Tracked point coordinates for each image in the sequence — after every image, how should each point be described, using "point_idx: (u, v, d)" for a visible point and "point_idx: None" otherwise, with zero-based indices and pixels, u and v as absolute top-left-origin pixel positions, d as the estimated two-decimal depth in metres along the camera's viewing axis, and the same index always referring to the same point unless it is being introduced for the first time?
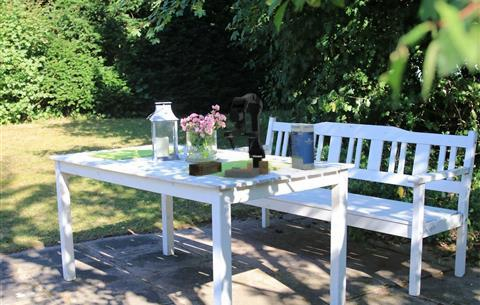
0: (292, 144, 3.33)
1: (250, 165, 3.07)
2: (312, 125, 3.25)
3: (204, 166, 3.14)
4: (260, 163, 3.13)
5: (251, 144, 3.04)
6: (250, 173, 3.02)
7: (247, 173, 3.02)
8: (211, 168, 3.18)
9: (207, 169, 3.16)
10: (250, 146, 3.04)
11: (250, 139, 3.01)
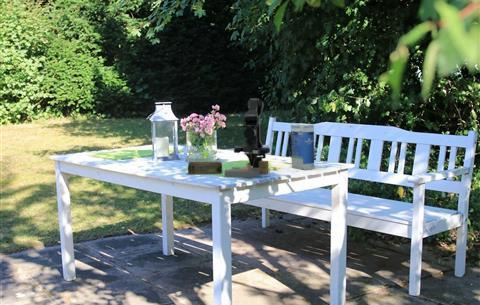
0: (292, 144, 3.33)
1: (249, 165, 3.07)
2: (312, 125, 3.25)
3: (197, 166, 3.17)
4: (260, 163, 3.13)
5: (254, 160, 3.07)
6: (250, 173, 3.02)
7: (247, 173, 3.02)
8: (206, 168, 3.17)
9: (201, 169, 3.17)
10: (253, 162, 3.07)
11: (253, 155, 3.04)
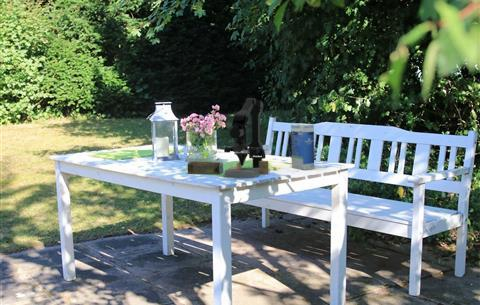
0: (292, 144, 3.33)
1: (239, 165, 3.10)
2: (312, 125, 3.25)
3: (195, 165, 3.19)
4: (260, 163, 3.13)
5: (244, 159, 3.09)
6: (250, 173, 3.02)
7: (247, 173, 3.02)
8: (204, 168, 3.17)
9: (199, 169, 3.18)
10: (243, 161, 3.09)
11: (243, 155, 3.06)
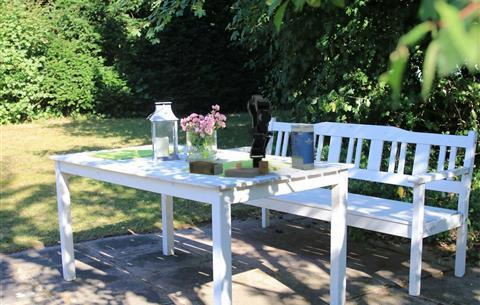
0: (292, 144, 3.33)
1: (239, 165, 3.10)
2: (312, 125, 3.25)
3: (195, 164, 3.21)
4: (260, 163, 3.13)
5: (261, 145, 3.10)
6: (250, 173, 3.02)
7: (247, 173, 3.02)
8: (201, 168, 3.18)
9: (198, 168, 3.20)
10: (260, 147, 3.11)
11: None
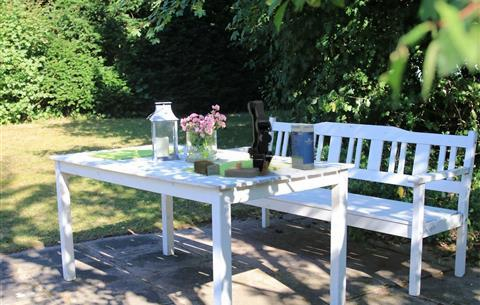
0: (292, 144, 3.33)
1: (239, 165, 3.10)
2: (312, 125, 3.25)
3: (197, 164, 3.24)
4: None
5: (260, 166, 3.09)
6: (250, 173, 3.02)
7: (247, 173, 3.02)
8: (200, 168, 3.20)
9: (198, 168, 3.22)
10: (259, 168, 3.10)
11: None
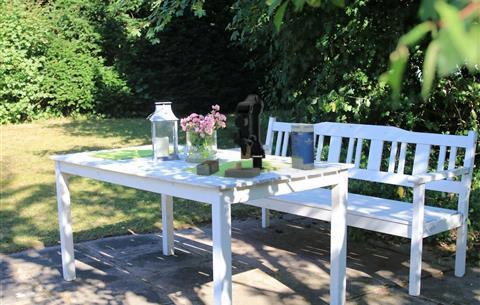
0: (292, 144, 3.33)
1: (239, 165, 3.10)
2: (312, 125, 3.25)
3: None
4: None
5: (243, 150, 3.05)
6: (250, 173, 3.02)
7: (247, 173, 3.02)
8: None
9: None
10: (243, 152, 3.05)
11: None
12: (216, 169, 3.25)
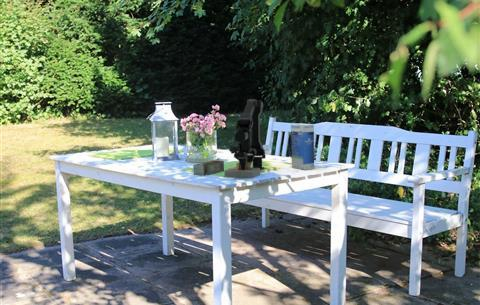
0: (292, 144, 3.33)
1: (239, 165, 3.10)
2: (312, 125, 3.25)
3: None
4: None
5: (242, 164, 3.04)
6: (250, 173, 3.02)
7: (247, 173, 3.02)
8: None
9: None
10: (241, 166, 3.04)
11: None
12: (218, 170, 3.22)
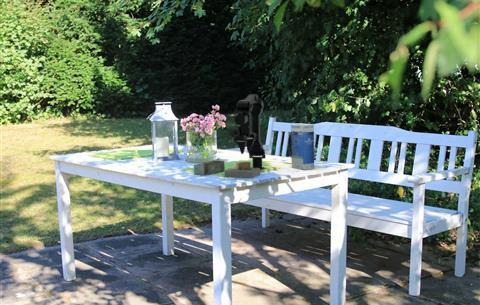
0: (292, 144, 3.33)
1: (239, 165, 3.10)
2: (312, 125, 3.25)
3: None
4: (242, 164, 3.07)
5: (242, 148, 3.02)
6: (250, 173, 3.02)
7: (247, 173, 3.02)
8: None
9: None
10: (241, 150, 3.03)
11: None
12: (218, 170, 3.22)
